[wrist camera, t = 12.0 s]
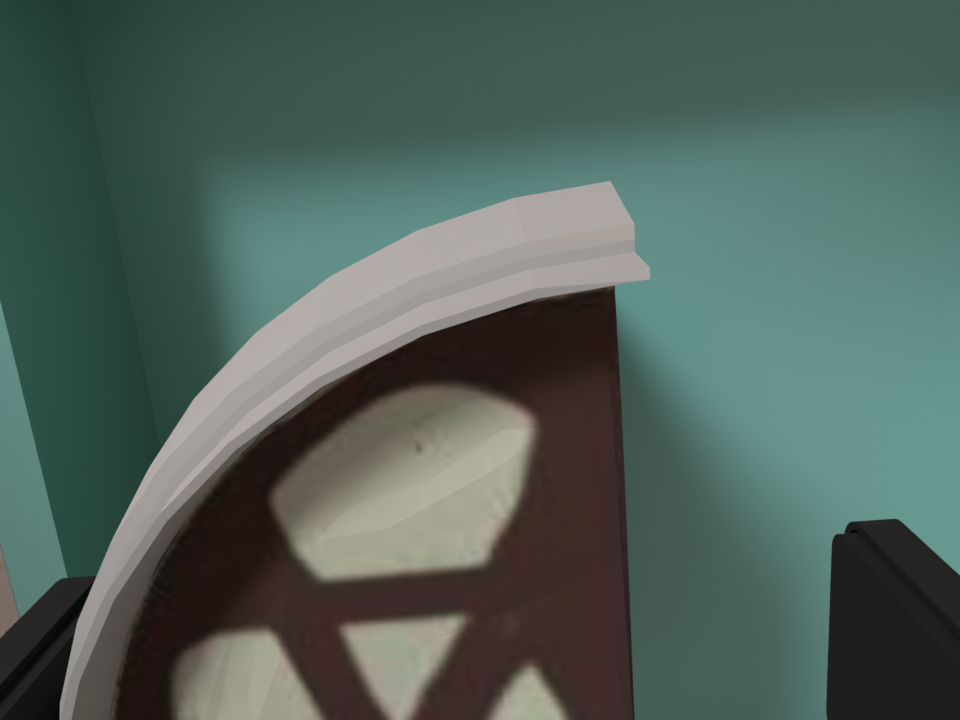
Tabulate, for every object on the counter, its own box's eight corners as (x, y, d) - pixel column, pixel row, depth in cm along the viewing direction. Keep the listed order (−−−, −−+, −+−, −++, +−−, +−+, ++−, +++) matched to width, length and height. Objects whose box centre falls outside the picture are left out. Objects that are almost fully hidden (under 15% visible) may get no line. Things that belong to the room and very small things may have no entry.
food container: (243, 193, 15) (-196, 261, 6) (557, 166, 15) (648, 191, 5) (327, 727, 19) (132, 1353, 9) (590, 714, 18) (684, 1348, 9)
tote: (36, -43, 15) (-179, -132, 11) (1448, -193, 14) (1944, -374, 9) (225, 863, 21) (140, 1076, 16) (1252, 820, 20) (1497, 1038, 15)
